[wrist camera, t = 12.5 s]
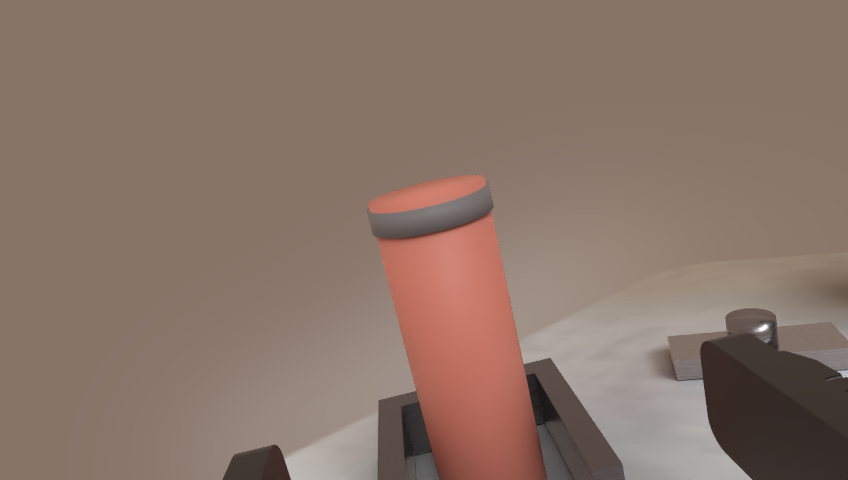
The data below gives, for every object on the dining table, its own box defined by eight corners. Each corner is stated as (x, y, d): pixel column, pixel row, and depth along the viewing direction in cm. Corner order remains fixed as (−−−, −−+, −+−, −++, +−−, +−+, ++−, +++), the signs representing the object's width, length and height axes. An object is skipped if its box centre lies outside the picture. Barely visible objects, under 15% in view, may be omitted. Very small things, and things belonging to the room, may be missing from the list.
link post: (554, 455, 23) (496, 167, 21) (547, 534, 19) (475, 192, 17) (456, 458, 25) (388, 188, 22) (431, 532, 21) (345, 215, 18)
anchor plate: (831, 342, 27) (829, 298, 26) (855, 368, 24) (852, 321, 24) (669, 354, 29) (664, 314, 28) (677, 380, 26) (671, 336, 26)
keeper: (557, 402, 27) (537, 304, 26) (633, 529, 19) (610, 394, 18) (391, 443, 27) (365, 346, 26) (396, 589, 19) (357, 457, 17)
